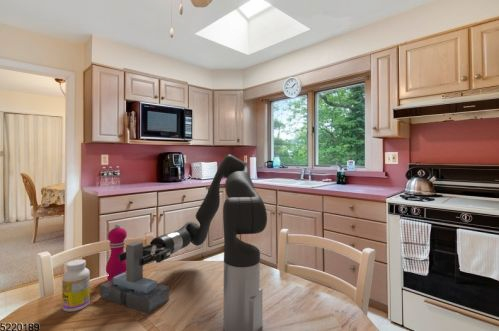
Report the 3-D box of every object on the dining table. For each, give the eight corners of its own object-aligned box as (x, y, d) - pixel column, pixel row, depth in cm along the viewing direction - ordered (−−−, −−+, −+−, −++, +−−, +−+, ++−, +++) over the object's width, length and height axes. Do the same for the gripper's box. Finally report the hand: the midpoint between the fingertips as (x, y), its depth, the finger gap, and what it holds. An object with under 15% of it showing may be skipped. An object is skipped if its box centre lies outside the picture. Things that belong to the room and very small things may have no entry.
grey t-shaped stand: (156, 298, 79) (156, 244, 79) (146, 305, 75) (146, 248, 75) (124, 289, 85) (124, 238, 84) (113, 294, 81) (113, 242, 81)
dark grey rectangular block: (169, 299, 79) (169, 286, 79) (149, 313, 72) (149, 299, 72) (122, 286, 87) (122, 274, 87) (100, 297, 80) (100, 284, 80)
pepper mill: (119, 285, 88) (119, 226, 88) (100, 283, 90) (100, 225, 90) (132, 276, 95) (132, 221, 95) (115, 274, 97) (115, 220, 97)
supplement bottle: (61, 305, 76) (61, 261, 76) (87, 297, 80) (87, 256, 80) (63, 315, 71) (63, 268, 71) (91, 307, 75) (91, 262, 75)
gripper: (151, 231, 96) (112, 244, 81) (183, 236, 90) (147, 251, 75) (151, 252, 96) (112, 268, 81) (183, 258, 90) (147, 277, 75)
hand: (129, 260), depth 78 cm, fingers open, 8 cm apart
